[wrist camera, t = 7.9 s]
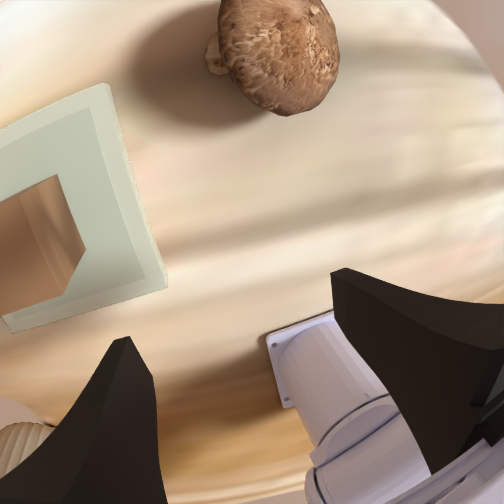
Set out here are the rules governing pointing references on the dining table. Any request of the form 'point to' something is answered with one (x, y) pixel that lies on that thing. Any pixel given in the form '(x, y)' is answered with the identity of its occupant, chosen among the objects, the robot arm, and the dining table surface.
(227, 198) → the dining table surface
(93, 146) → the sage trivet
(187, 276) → the dining table surface
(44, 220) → the walnut block
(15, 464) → the canister
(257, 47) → the mushroom
